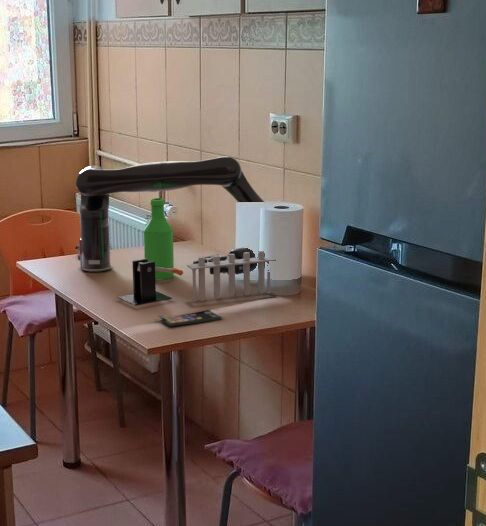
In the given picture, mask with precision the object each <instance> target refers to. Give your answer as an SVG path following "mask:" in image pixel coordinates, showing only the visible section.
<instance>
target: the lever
mask: <svg viewBox="0 0 486 526" xmlns="http://www.w3.org/2000/svg"><path fill="white" fill-rule="evenodd" d="M140 263H142V262H138V268H137V271H140ZM155 271H162V272H171V273H174V275H178V276H183V274H184V271H183V270H182V269H179V268H176V267H175V266H174V267H171V268H162V267H155Z"/></svg>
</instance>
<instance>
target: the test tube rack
mask: <svg viewBox="0 0 486 526" xmlns="http://www.w3.org/2000/svg"><path fill="white" fill-rule="evenodd" d="M258 252H259V253H258V257H257V258H250V253H249V252H244V254H243V255H244V259H237V260H235V254H229V253H228V254H229V256H228V255H227V256H228V257H229V260H228V261H220V256H221V255H220V254H218V255H217V254H214V255H215V256H214V258H213V259H214V262H208V261H207V262H208V263H205V259H204V257H205V256H198V259H197V260H198V264H193V263H191V264H186V267H188V268H189V269H190V270H191V271H192V302H197V281H196V280H197V279H196V278H197V277H196V274H197V270H198V299H199V301H206V300H205V299H206V269H210V268H212V267H214V274H213V298H214V299H215V300H219V299H220V298H221V273H220V267H222V266H229V274H228V296H229V297H230V298H235V296H236V274H235V265H241V264H244V273H243V295H244V296H250V293H251V272H250V263H258V270H257V272H258V273H257V276H258V277H257V289H258V290H257V291H258V294H260V295H263V294H265V287H266V293H267V294H270V293H272V292H271V291H272V289H271V271H270V272H265V271H269V270H267V269H266V268H265V262H267V263H268V264H269V261H276V259H268V258H265V253H264V251H258ZM267 266H268V265H267ZM265 269H266V270H265ZM265 273H266V274H267V275H266V276H265ZM265 277H266V282H265ZM265 283H266V284H267V285H265ZM274 298H275V299H276V298H277V295H273V296H267V297H263V298H262V300H267V299H274ZM258 300H260V299H258Z"/></svg>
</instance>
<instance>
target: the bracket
mask: <svg viewBox="0 0 486 526" xmlns="http://www.w3.org/2000/svg"><path fill="white" fill-rule="evenodd" d="M138 262H142V263H140V271H137V268H138ZM131 263H132V289H133V293H131V294H127V295H122V296H117V299H119V300H122V301H123V302H126V303H128V304H130V305H133V306H134V307H136V306H137V307H138V306H141V305H147V304H151V303H157V302H162V301H167V300H171V299H173V297H171V296H169V295H166V294H164V293H162V292H159V291H157V287H156V286H157V280H156V279H155V262H154V261H151V262H148V259H146V258H145V257H144V258H141V259H133V260H132V262H131Z"/></svg>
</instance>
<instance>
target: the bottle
mask: <svg viewBox="0 0 486 526" xmlns="http://www.w3.org/2000/svg"><path fill="white" fill-rule="evenodd" d="M165 204H166V203H165V200H164V198H161V197H155V198H152V199H150V210H151V211H150V212H151V213H150V214H151V215H150V216H151V218H150V219H149V221H148V223H147V224H146V226H145V227H144V229H143V250H144V251H143V253H144V256H143V257H144V259H145V258H146V259H148V262H151V261H154V262H155V267H162V268H171V267H174V268H175V261H174V259H175V258H174V228H173V227H172V226H171V224H170V223H169V222H168V220H167V219H166V217H165ZM174 276H175V273H171V272H162V271H155V279H156V281H163V280H169V279H172V278H174Z"/></svg>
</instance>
